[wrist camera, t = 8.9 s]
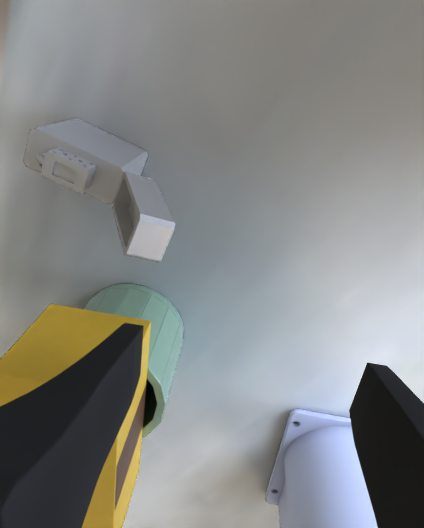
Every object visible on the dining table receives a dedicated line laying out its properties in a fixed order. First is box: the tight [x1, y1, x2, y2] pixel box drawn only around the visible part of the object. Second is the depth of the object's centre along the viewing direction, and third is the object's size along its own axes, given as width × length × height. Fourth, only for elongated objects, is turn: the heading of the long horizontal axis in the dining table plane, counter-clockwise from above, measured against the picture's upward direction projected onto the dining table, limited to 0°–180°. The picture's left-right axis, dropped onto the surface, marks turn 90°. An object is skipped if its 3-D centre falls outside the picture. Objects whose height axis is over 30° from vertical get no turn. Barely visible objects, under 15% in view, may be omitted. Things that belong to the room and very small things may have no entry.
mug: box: [84, 284, 184, 437], centre depth 23 cm, size 9×6×6 cm
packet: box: [0, 304, 151, 528], centre depth 18 cm, size 10×5×5 cm, turn 172°
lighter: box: [23, 118, 175, 262], centre depth 17 cm, size 7×2×8 cm, turn 66°
